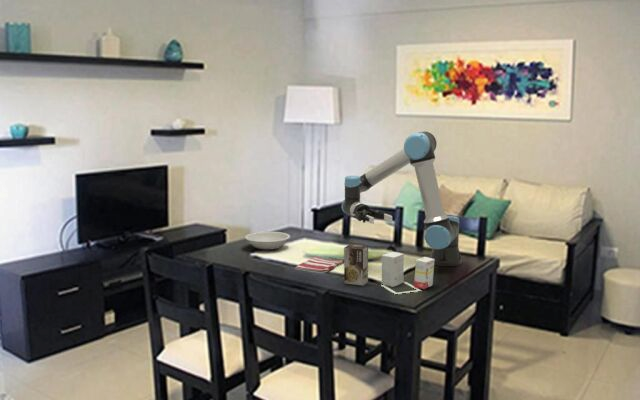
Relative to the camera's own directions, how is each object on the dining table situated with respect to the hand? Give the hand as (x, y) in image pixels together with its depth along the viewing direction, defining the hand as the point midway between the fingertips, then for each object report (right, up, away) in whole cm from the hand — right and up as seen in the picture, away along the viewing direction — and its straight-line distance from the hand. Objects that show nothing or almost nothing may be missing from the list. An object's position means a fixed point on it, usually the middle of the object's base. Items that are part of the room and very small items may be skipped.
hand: (382, 220), depth 271 cm
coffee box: (-12, -27, -4) cm, 30 cm away
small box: (+4, -27, -5) cm, 28 cm away
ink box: (+16, -28, -10) cm, 34 cm away
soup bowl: (-55, -17, +58) cm, 82 cm away
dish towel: (-27, -23, +24) cm, 43 cm away
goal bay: (+6, -28, -12) cm, 31 cm away
